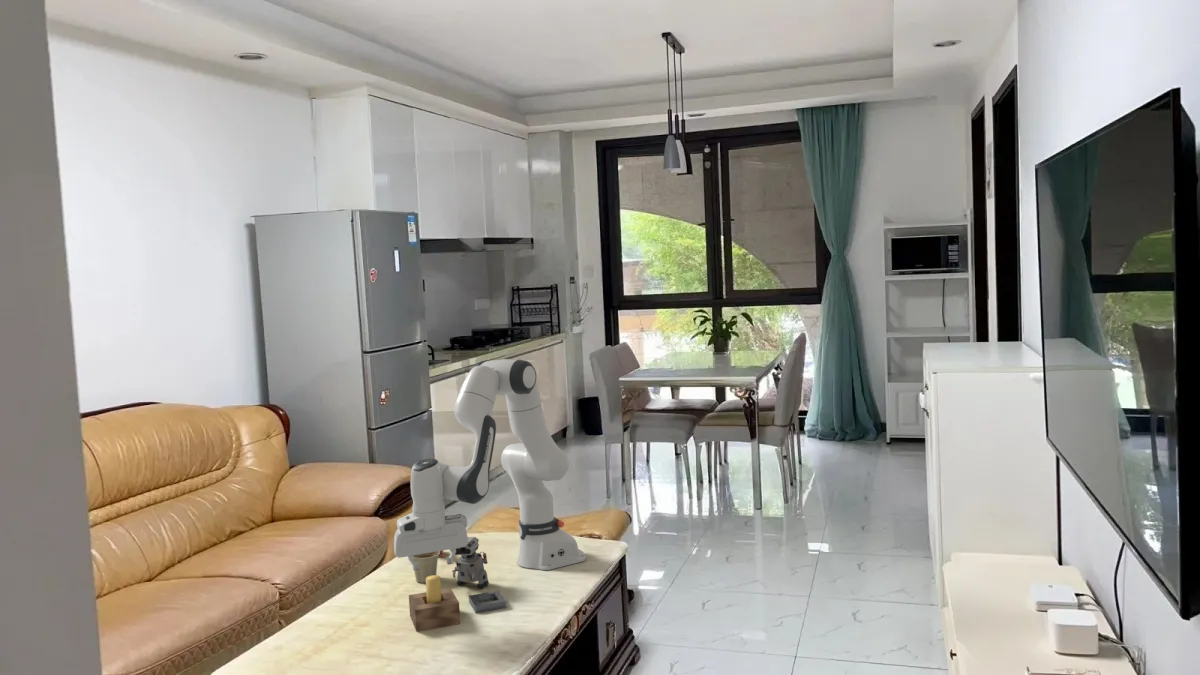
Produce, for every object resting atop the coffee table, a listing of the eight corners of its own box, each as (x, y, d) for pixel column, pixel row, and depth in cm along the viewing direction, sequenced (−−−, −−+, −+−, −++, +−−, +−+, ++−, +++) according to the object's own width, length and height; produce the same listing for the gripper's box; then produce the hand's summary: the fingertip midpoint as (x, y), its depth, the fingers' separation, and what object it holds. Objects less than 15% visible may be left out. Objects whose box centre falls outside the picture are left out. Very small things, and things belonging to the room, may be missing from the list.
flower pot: (444, 574, 285) (443, 548, 285) (436, 585, 276) (435, 558, 275) (416, 574, 286) (414, 548, 286) (407, 585, 277) (405, 558, 276)
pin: (441, 615, 252) (438, 574, 251) (443, 621, 248) (441, 579, 247) (426, 618, 250) (424, 576, 249) (429, 623, 247) (427, 581, 246)
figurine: (446, 592, 270) (443, 544, 268) (467, 579, 280) (465, 532, 278) (471, 596, 266) (468, 547, 264) (492, 583, 276) (489, 535, 275)
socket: (452, 608, 257) (450, 588, 256) (460, 623, 246) (459, 602, 245) (409, 615, 253) (408, 595, 252) (416, 631, 242) (415, 610, 241)
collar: (499, 596, 264) (498, 590, 264) (506, 607, 256) (506, 601, 256) (469, 602, 261) (468, 595, 261) (475, 613, 253) (475, 606, 252)
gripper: (464, 509, 253) (467, 556, 255) (390, 521, 246) (394, 569, 248) (468, 515, 247) (472, 563, 249) (393, 527, 240) (397, 577, 242)
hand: (433, 566), depth 248 cm, fingers open, 8 cm apart
